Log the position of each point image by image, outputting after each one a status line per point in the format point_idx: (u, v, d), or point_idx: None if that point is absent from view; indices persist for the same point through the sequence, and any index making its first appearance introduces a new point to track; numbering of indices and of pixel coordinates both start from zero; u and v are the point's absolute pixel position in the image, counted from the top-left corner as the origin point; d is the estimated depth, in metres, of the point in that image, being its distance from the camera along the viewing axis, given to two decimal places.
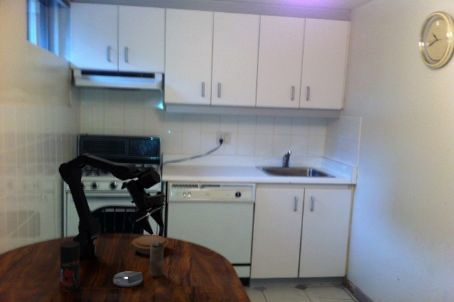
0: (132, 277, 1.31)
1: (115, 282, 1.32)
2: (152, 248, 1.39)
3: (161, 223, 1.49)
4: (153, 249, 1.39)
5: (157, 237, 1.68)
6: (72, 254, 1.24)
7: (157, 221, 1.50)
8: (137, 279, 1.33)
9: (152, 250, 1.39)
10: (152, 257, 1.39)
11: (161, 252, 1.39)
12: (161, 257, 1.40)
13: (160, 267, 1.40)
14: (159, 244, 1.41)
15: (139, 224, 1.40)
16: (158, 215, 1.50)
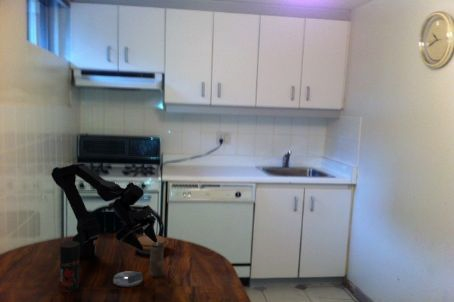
0: (132, 277, 1.31)
1: (115, 282, 1.32)
2: (152, 248, 1.39)
3: (154, 238, 1.46)
4: (153, 249, 1.39)
5: (157, 237, 1.68)
6: (72, 255, 1.24)
7: (150, 237, 1.47)
8: (137, 279, 1.33)
9: (152, 250, 1.39)
10: (152, 257, 1.39)
11: (161, 252, 1.39)
12: (161, 257, 1.40)
13: (160, 267, 1.40)
14: (159, 244, 1.41)
15: (127, 241, 1.38)
16: (150, 230, 1.47)
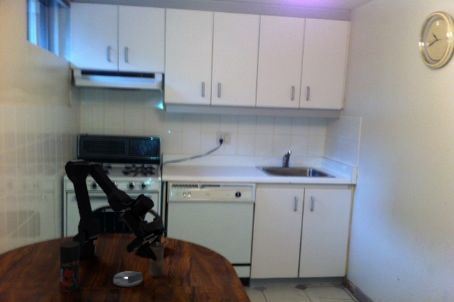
0: (132, 277, 1.31)
1: (115, 282, 1.32)
2: (152, 248, 1.39)
3: None
4: (153, 249, 1.39)
5: None
6: (72, 254, 1.24)
7: None
8: (137, 279, 1.33)
9: (152, 250, 1.39)
10: None
11: (161, 252, 1.39)
12: (161, 257, 1.40)
13: (160, 267, 1.40)
14: (159, 244, 1.41)
15: (141, 251, 1.38)
16: None
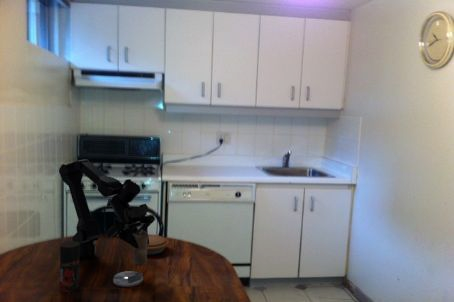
0: (132, 277, 1.31)
1: (115, 282, 1.32)
2: (135, 235, 1.34)
3: None
4: (135, 237, 1.34)
5: (157, 237, 1.68)
6: (72, 254, 1.24)
7: None
8: (137, 279, 1.33)
9: (135, 237, 1.34)
10: None
11: (144, 240, 1.34)
12: (144, 245, 1.35)
13: (142, 256, 1.35)
14: (143, 232, 1.36)
15: (124, 238, 1.34)
16: None
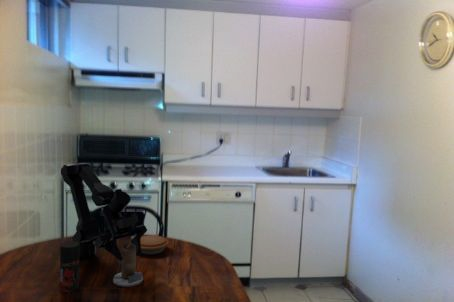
0: (132, 277, 1.31)
1: (115, 282, 1.32)
2: (122, 249, 1.33)
3: (138, 250, 1.37)
4: (122, 250, 1.33)
5: (157, 237, 1.68)
6: (72, 254, 1.24)
7: None
8: (137, 279, 1.33)
9: (122, 251, 1.33)
10: (122, 258, 1.33)
11: (131, 254, 1.33)
12: (131, 259, 1.33)
13: (130, 270, 1.33)
14: (131, 246, 1.34)
15: (108, 249, 1.32)
16: (136, 241, 1.38)
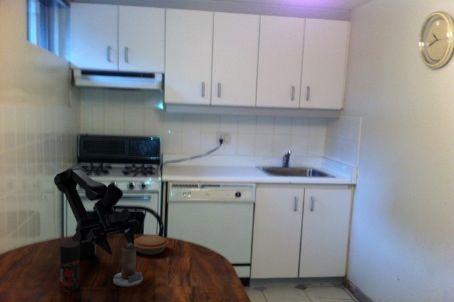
0: (132, 277, 1.31)
1: (115, 282, 1.32)
2: (122, 249, 1.33)
3: None
4: (122, 250, 1.33)
5: (157, 237, 1.68)
6: (72, 254, 1.24)
7: (129, 241, 1.42)
8: (137, 279, 1.33)
9: (122, 251, 1.33)
10: (122, 258, 1.33)
11: (131, 254, 1.33)
12: (131, 259, 1.33)
13: (130, 270, 1.33)
14: (131, 246, 1.34)
15: (99, 243, 1.35)
16: (129, 235, 1.42)
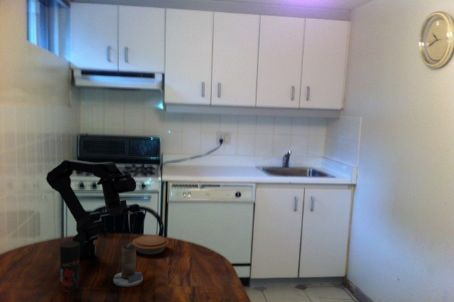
0: (132, 277, 1.31)
1: (115, 282, 1.32)
2: (122, 249, 1.33)
3: (129, 227, 1.49)
4: (122, 250, 1.33)
5: (157, 237, 1.68)
6: (72, 254, 1.24)
7: None
8: (137, 279, 1.33)
9: (122, 251, 1.33)
10: (122, 258, 1.33)
11: (131, 254, 1.32)
12: (131, 259, 1.33)
13: (130, 270, 1.33)
14: (131, 246, 1.34)
15: None
16: (129, 219, 1.49)
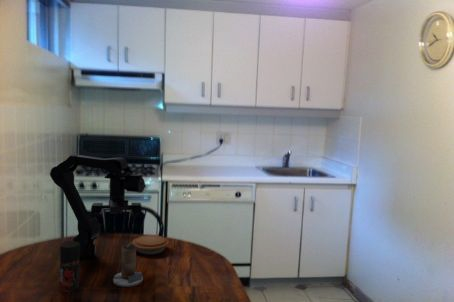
0: (132, 277, 1.31)
1: (115, 282, 1.32)
2: (122, 249, 1.33)
3: (128, 225, 1.51)
4: (122, 250, 1.33)
5: (157, 237, 1.68)
6: (72, 254, 1.24)
7: None
8: (137, 279, 1.33)
9: (122, 251, 1.33)
10: (122, 258, 1.33)
11: (131, 254, 1.33)
12: (131, 259, 1.33)
13: (130, 270, 1.33)
14: (131, 246, 1.34)
15: None
16: (129, 217, 1.50)
